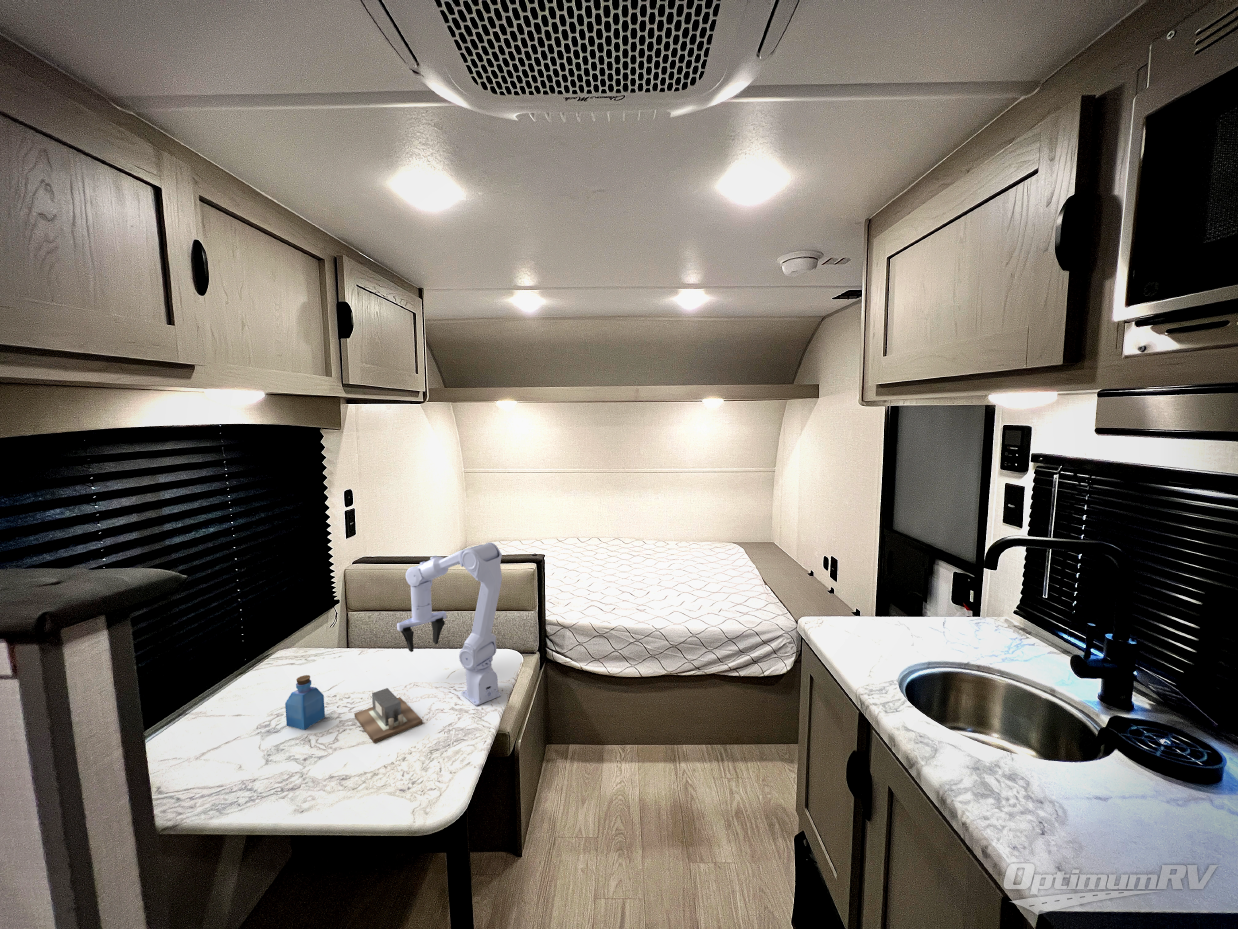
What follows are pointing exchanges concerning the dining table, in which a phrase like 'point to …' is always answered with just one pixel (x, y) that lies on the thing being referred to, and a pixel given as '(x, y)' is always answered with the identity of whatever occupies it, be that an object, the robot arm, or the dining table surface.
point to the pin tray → (380, 731)
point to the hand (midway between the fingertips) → (423, 647)
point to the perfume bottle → (304, 705)
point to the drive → (386, 705)
